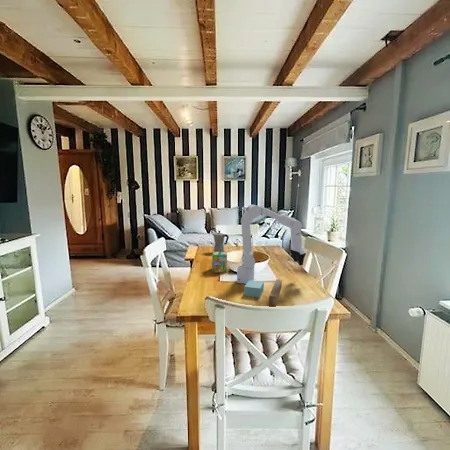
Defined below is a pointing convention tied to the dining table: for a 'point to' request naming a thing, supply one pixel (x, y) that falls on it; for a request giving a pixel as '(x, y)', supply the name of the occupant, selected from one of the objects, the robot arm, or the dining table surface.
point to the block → (254, 288)
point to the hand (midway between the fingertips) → (298, 263)
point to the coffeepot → (219, 241)
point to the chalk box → (219, 262)
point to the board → (275, 292)
